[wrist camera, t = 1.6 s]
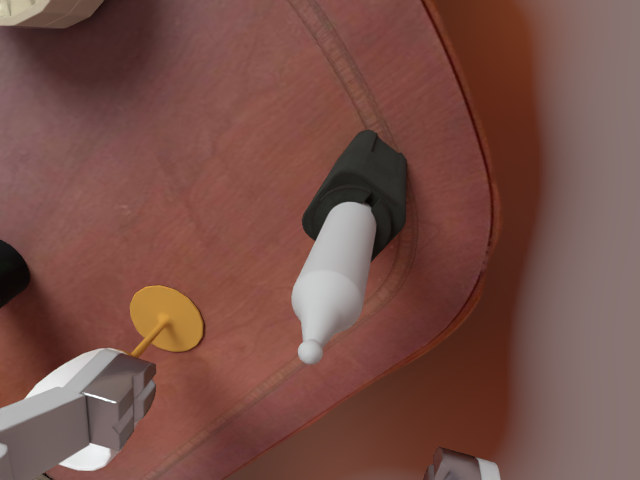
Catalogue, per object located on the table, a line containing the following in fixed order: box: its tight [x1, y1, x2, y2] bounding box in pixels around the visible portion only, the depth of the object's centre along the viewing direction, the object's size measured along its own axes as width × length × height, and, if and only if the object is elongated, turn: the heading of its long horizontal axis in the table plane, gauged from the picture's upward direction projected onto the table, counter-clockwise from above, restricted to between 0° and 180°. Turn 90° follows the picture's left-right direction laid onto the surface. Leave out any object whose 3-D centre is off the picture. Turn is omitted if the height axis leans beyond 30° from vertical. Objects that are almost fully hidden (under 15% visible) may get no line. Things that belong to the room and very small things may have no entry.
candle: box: [292, 130, 407, 364], centre depth 25 cm, size 5×5×25 cm
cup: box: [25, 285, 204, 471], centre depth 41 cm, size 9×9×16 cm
